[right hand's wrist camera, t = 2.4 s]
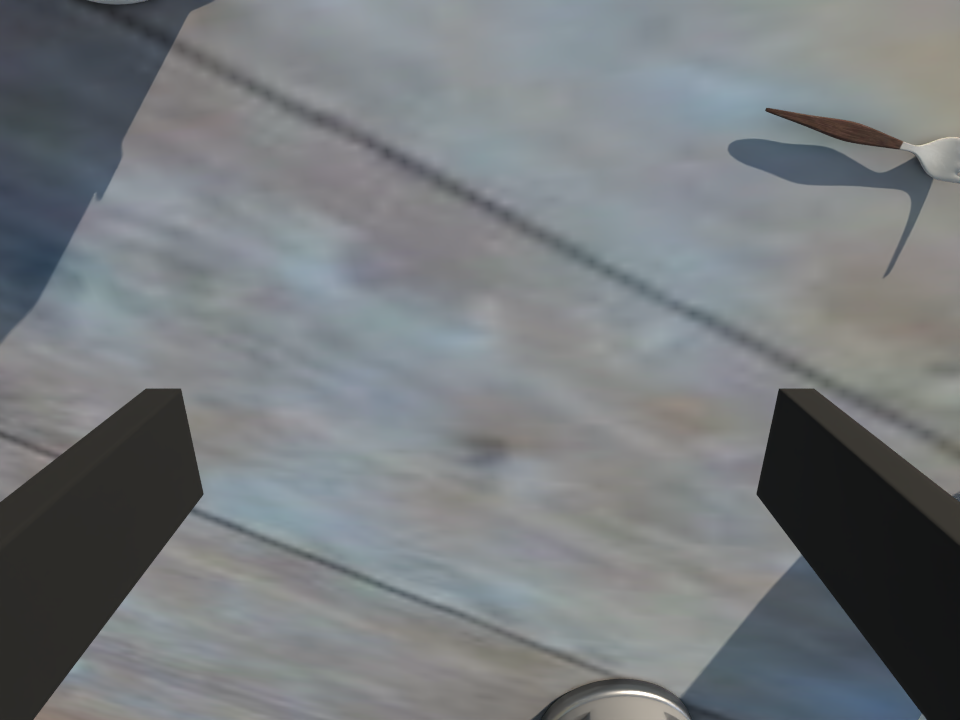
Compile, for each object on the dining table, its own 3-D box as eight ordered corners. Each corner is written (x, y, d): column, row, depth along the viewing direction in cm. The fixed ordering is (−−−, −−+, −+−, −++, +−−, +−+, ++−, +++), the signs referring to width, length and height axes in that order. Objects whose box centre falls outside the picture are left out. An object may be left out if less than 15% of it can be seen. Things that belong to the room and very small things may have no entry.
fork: (770, 86, 35) (786, 84, 34) (1002, 150, 37) (1030, 151, 35) (753, 131, 36) (768, 131, 34) (980, 191, 38) (1006, 194, 36)
